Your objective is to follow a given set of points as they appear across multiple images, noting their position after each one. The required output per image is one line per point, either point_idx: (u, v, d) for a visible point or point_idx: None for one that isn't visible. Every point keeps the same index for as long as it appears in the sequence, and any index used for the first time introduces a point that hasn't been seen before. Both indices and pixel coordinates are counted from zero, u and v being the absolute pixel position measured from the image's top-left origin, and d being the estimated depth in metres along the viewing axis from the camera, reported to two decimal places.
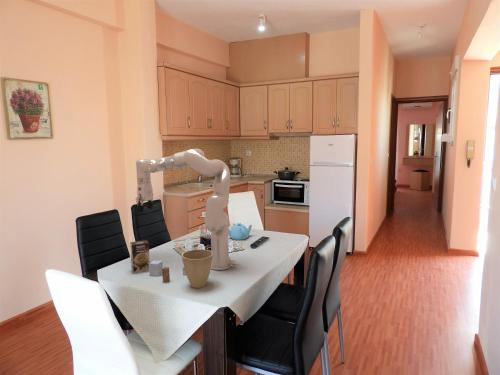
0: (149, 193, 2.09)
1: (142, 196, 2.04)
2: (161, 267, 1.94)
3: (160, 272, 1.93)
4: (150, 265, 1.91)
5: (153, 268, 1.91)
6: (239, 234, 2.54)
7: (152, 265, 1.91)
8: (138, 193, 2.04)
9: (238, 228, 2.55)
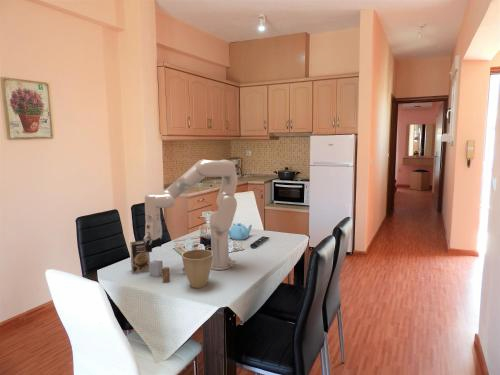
0: (158, 231, 1.90)
1: (151, 235, 1.86)
2: (161, 267, 1.94)
3: (160, 272, 1.93)
4: (150, 265, 1.91)
5: (153, 268, 1.91)
6: (239, 234, 2.54)
7: (152, 265, 1.91)
8: (146, 231, 1.86)
9: (238, 228, 2.55)
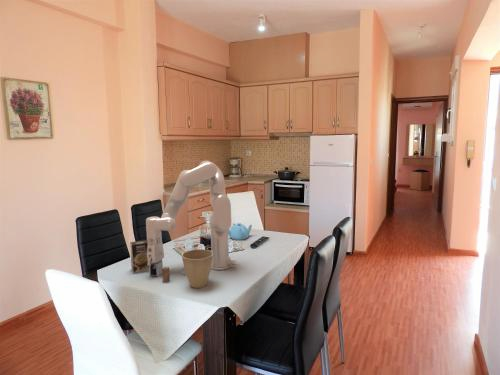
0: (160, 253, 1.92)
1: (153, 260, 1.88)
2: (161, 267, 1.94)
3: (160, 272, 1.93)
4: None
5: None
6: (239, 234, 2.54)
7: None
8: (148, 254, 1.88)
9: (238, 228, 2.55)
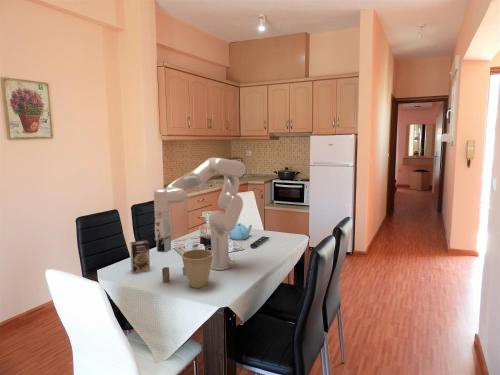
0: (168, 228, 1.80)
1: (161, 235, 1.75)
2: (169, 243, 1.82)
3: (168, 248, 1.81)
4: None
5: None
6: (239, 234, 2.54)
7: None
8: (156, 229, 1.75)
9: (238, 228, 2.55)
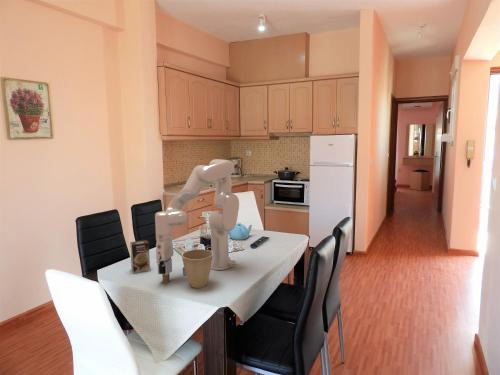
0: (169, 250, 1.81)
1: (162, 257, 1.77)
2: (170, 265, 1.83)
3: (169, 270, 1.82)
4: None
5: None
6: (239, 234, 2.54)
7: None
8: (157, 252, 1.77)
9: (238, 228, 2.55)
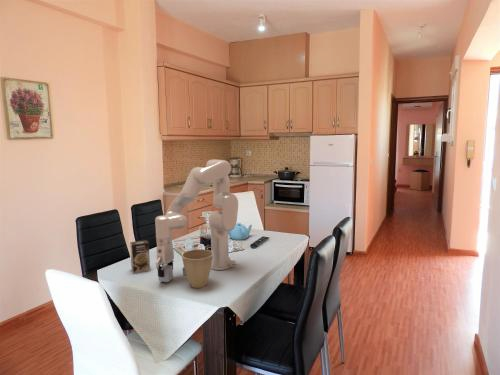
0: (170, 254, 1.82)
1: (162, 259, 1.77)
2: (171, 272, 1.84)
3: (170, 277, 1.83)
4: None
5: None
6: (239, 234, 2.54)
7: None
8: (158, 256, 1.77)
9: (238, 228, 2.55)
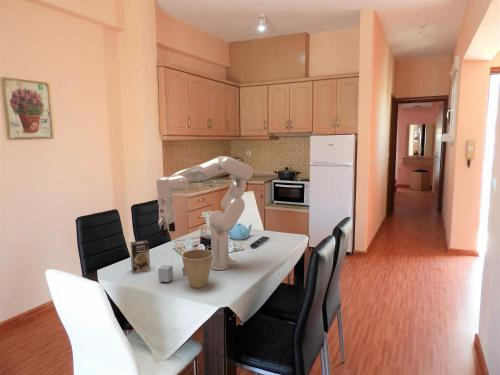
0: (172, 215, 1.85)
1: (165, 219, 1.80)
2: (171, 272, 1.84)
3: (170, 277, 1.83)
4: (159, 270, 1.81)
5: (163, 273, 1.81)
6: (239, 234, 2.54)
7: (162, 270, 1.81)
8: (160, 216, 1.80)
9: (238, 228, 2.55)
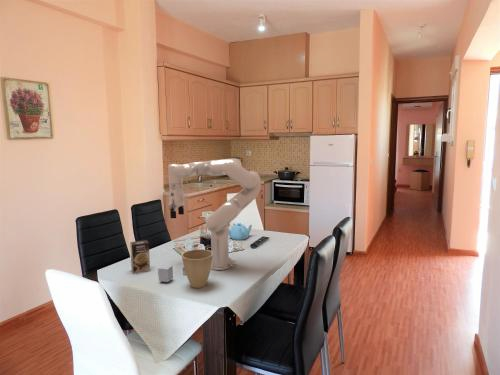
0: (181, 199, 2.02)
1: (175, 202, 1.97)
2: (171, 272, 1.84)
3: (170, 277, 1.83)
4: (159, 270, 1.81)
5: (163, 273, 1.81)
6: (239, 234, 2.54)
7: (162, 270, 1.81)
8: (170, 199, 1.98)
9: (238, 228, 2.55)
